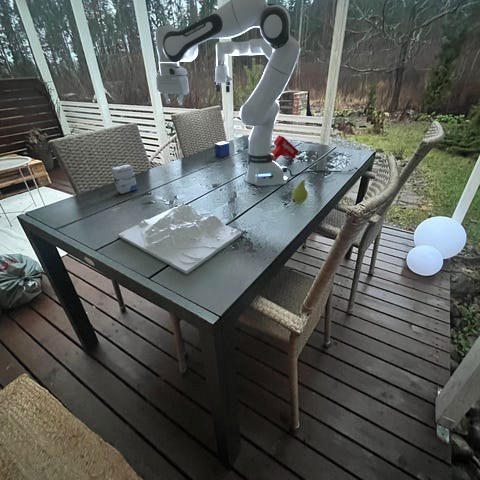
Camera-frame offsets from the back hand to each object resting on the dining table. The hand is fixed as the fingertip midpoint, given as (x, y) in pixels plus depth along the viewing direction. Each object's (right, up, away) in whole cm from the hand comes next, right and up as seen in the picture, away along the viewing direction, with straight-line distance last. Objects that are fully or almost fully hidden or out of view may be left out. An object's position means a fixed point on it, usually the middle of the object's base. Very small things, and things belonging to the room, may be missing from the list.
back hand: (223, 91), depth 198 cm
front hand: (-19, -43, -67) cm, 82 cm away
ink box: (-43, -84, -64) cm, 114 cm away
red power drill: (+41, -56, -21) cm, 72 cm away
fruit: (+39, -91, -76) cm, 125 cm away
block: (0, -50, -12) cm, 52 cm away
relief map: (-9, -107, -100) cm, 147 cm away
